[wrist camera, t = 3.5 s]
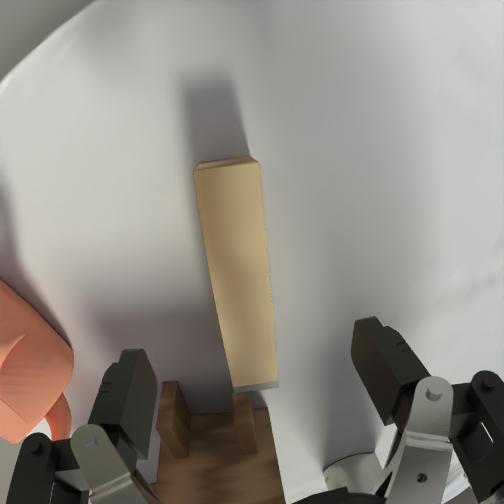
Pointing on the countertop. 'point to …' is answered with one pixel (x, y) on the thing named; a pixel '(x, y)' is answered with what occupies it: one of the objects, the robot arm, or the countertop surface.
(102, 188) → the countertop surface
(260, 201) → the rail
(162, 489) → the slotted wooden stand
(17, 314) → the pot
